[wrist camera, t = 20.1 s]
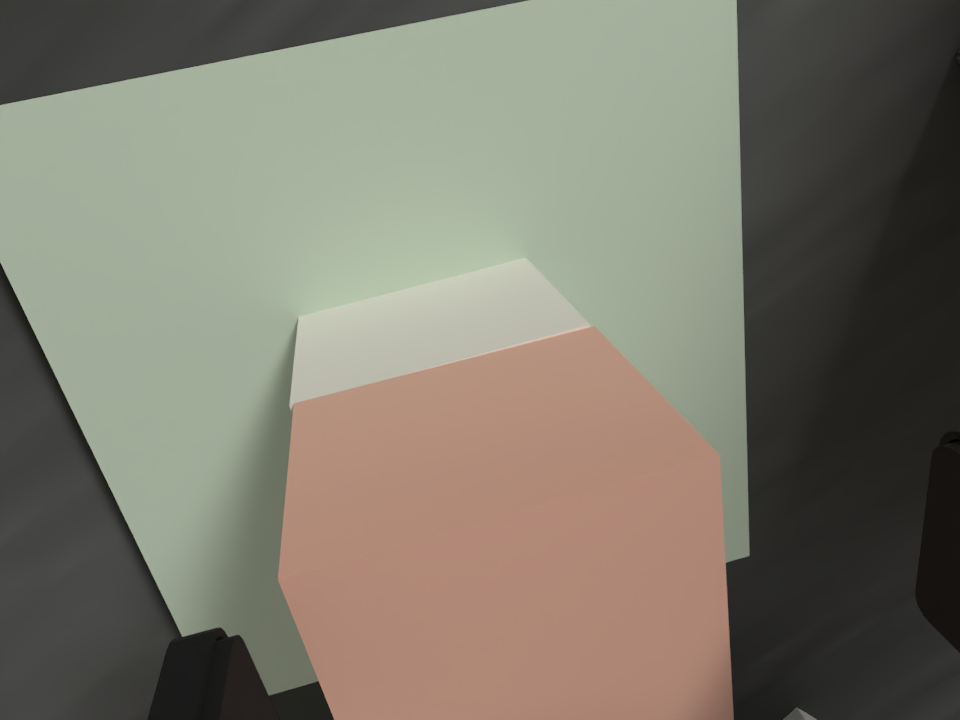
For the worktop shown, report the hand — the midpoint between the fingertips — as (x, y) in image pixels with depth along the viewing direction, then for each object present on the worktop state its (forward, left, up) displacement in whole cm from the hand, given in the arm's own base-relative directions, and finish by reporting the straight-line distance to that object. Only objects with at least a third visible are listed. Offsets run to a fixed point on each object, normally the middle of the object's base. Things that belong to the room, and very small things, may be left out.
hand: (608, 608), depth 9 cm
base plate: (+1, +2, -12) cm, 12 cm away
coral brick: (+1, +2, -6) cm, 6 cm away
